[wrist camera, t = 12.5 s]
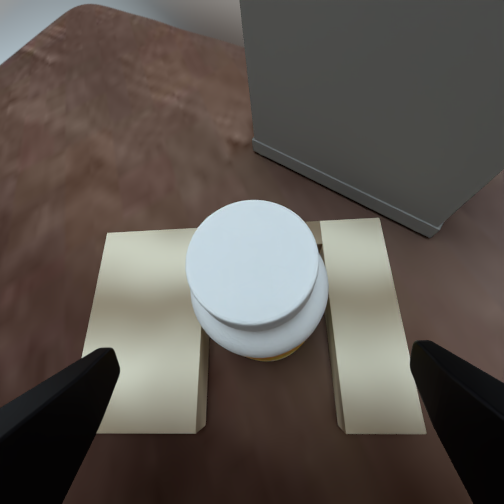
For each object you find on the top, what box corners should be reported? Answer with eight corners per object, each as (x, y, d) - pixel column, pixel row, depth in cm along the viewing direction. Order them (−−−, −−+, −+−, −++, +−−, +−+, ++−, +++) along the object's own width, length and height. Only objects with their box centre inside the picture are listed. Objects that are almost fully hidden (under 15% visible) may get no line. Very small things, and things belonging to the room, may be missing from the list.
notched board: (407, 425, 14) (426, 433, 12) (91, 425, 16) (66, 433, 14) (369, 232, 18) (379, 217, 17) (123, 245, 20) (107, 233, 18)
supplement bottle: (318, 357, 16) (368, 343, 7) (225, 366, 16) (156, 364, 7) (303, 268, 18) (326, 169, 9) (220, 277, 18) (163, 190, 9)
